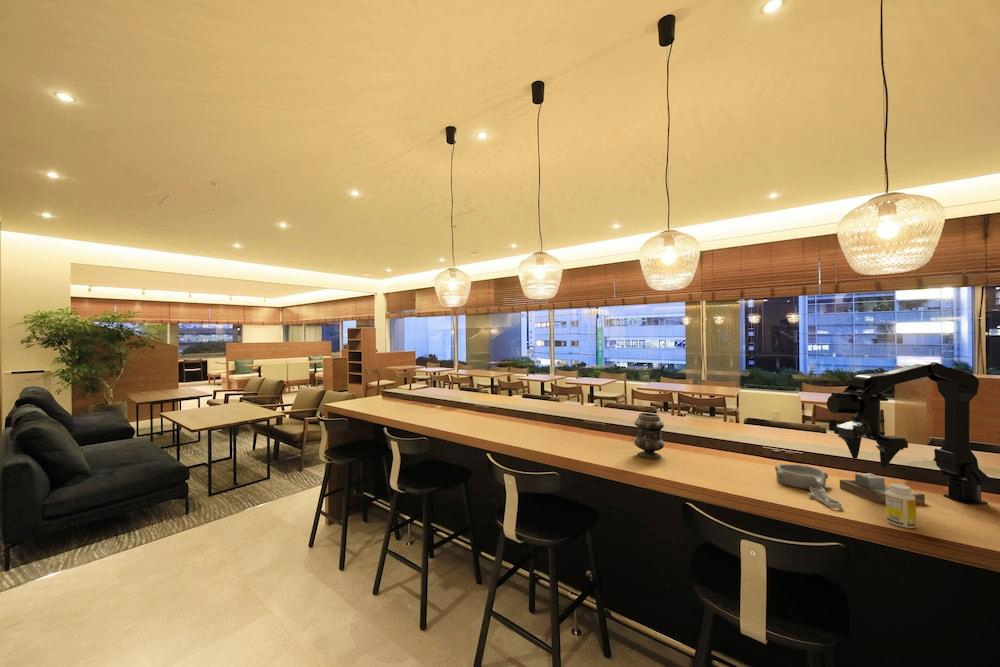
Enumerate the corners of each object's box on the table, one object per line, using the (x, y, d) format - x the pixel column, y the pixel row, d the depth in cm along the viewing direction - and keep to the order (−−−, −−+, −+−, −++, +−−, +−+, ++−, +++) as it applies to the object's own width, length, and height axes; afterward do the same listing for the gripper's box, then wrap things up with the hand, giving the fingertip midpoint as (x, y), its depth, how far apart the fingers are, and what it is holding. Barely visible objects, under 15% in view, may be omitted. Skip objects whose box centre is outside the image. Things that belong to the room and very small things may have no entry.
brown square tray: (882, 487, 127) (881, 479, 127) (924, 503, 114) (924, 494, 114) (839, 487, 126) (839, 479, 127) (878, 503, 114) (877, 494, 114)
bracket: (836, 489, 121) (842, 504, 109) (837, 495, 121) (842, 510, 109) (806, 483, 125) (808, 497, 114) (806, 489, 125) (808, 504, 113)
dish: (828, 483, 130) (828, 469, 130) (824, 494, 120) (824, 479, 120) (777, 473, 140) (777, 460, 140) (769, 482, 130) (769, 468, 131)
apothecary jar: (669, 457, 160) (669, 414, 161) (654, 462, 153) (654, 418, 153) (644, 450, 170) (644, 410, 170) (628, 455, 162) (628, 413, 163)
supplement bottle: (912, 523, 102) (912, 485, 102) (919, 531, 97) (918, 491, 97) (884, 517, 105) (883, 480, 105) (888, 525, 100) (888, 486, 101)
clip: (870, 488, 123) (870, 473, 123) (884, 494, 118) (884, 478, 118) (855, 488, 123) (855, 473, 123) (869, 494, 118) (869, 478, 118)
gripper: (818, 409, 130) (818, 454, 130) (872, 420, 111) (873, 473, 111) (849, 409, 130) (850, 454, 130) (909, 420, 112) (910, 473, 111)
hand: (868, 462), depth 121 cm, fingers open, 9 cm apart
